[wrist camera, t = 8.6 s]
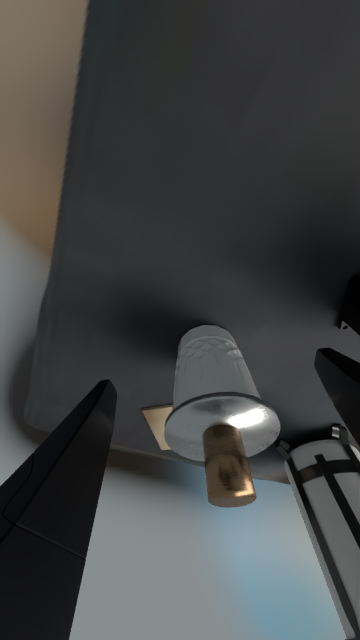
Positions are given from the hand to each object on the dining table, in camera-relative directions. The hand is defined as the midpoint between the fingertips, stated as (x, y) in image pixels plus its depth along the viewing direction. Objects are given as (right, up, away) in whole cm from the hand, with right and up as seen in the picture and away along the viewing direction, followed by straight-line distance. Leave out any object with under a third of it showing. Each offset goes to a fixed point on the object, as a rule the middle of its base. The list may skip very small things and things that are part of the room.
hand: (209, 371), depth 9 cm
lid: (+2, -7, +8) cm, 10 cm away
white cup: (+2, -1, +16) cm, 17 cm away
